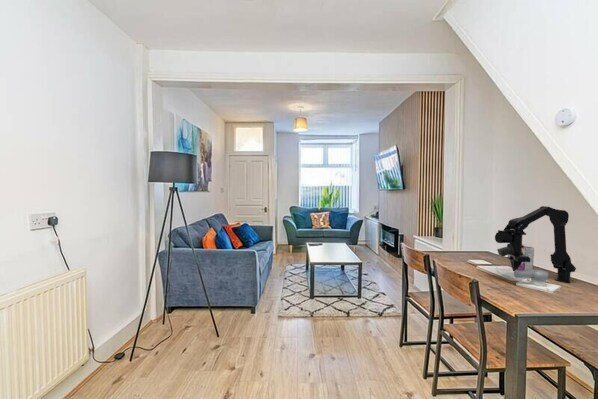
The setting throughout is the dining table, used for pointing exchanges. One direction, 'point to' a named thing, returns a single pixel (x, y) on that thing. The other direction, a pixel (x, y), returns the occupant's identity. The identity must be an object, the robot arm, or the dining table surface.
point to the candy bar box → (530, 253)
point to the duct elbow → (532, 274)
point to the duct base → (549, 286)
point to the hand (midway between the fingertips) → (514, 271)
